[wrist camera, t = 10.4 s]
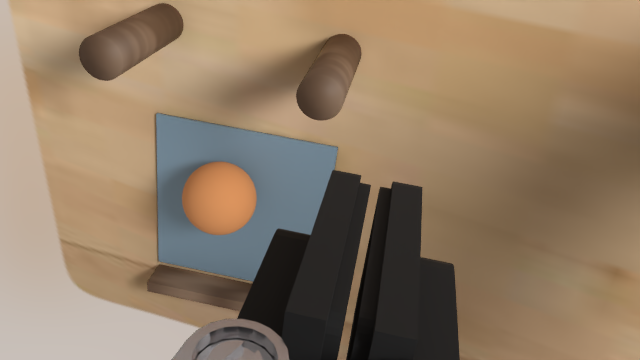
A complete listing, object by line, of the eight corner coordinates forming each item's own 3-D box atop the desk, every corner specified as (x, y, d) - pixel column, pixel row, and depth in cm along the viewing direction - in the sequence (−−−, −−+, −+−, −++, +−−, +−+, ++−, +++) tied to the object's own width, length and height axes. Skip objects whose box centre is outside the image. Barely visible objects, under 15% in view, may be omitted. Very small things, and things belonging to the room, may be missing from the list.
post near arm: (364, 37, 38) (346, 79, 30) (358, 74, 39) (339, 124, 32) (325, 31, 38) (299, 70, 31) (321, 68, 40) (294, 115, 32)
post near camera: (183, 6, 39) (121, 39, 31) (183, 43, 41) (123, 84, 33) (147, 0, 39) (77, 31, 32) (148, 37, 41) (81, 76, 33)
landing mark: (338, 147, 42) (337, 148, 42) (315, 293, 49) (314, 294, 49) (157, 112, 43) (156, 113, 43) (159, 259, 50) (158, 261, 50)
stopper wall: (314, 297, 49) (309, 316, 47) (313, 306, 50) (307, 326, 48) (159, 264, 51) (147, 281, 48) (159, 273, 51) (147, 291, 49)
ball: (244, 256, 43) (260, 202, 47) (250, 210, 39) (266, 155, 43) (172, 240, 43) (193, 187, 47) (171, 193, 39) (194, 139, 43)
